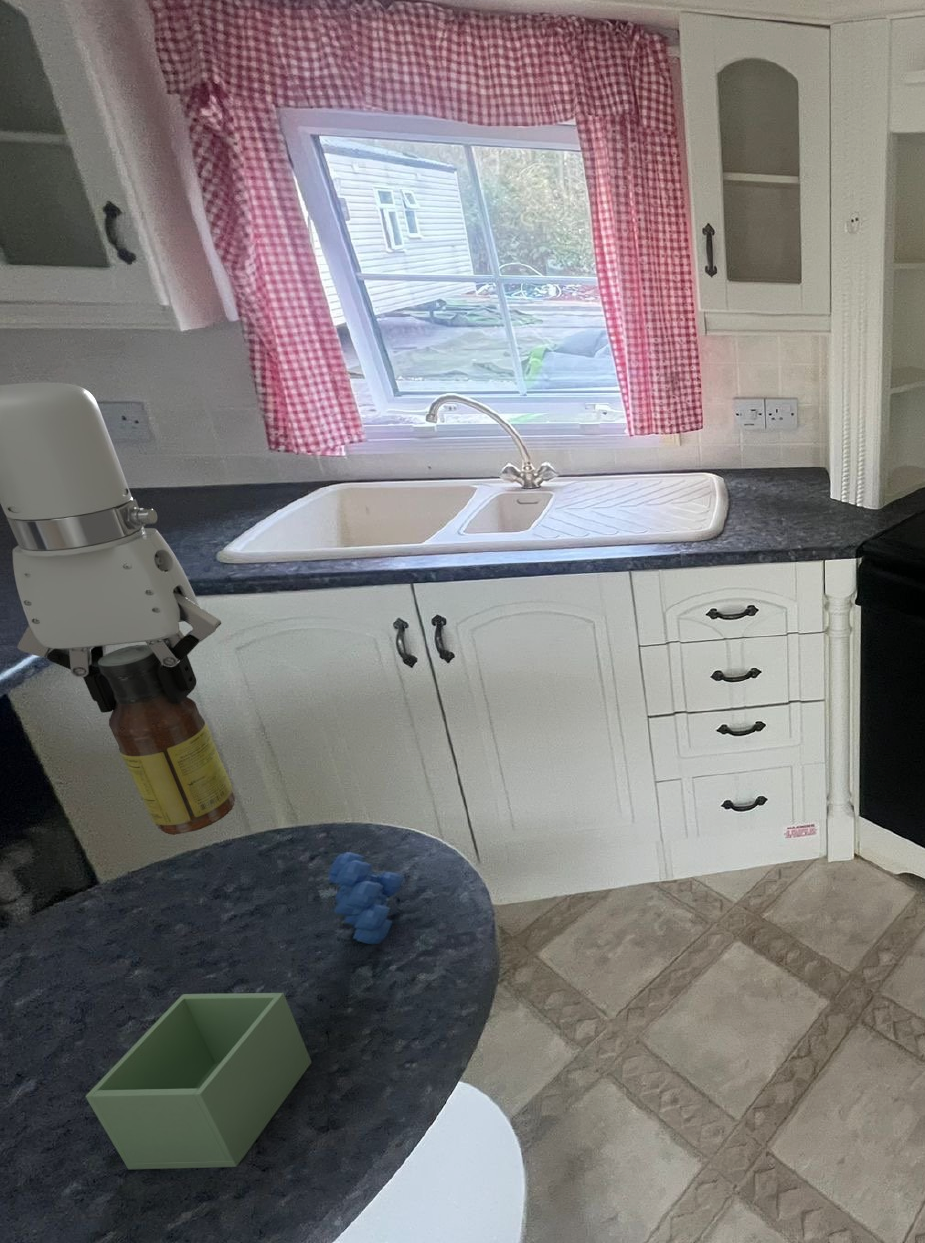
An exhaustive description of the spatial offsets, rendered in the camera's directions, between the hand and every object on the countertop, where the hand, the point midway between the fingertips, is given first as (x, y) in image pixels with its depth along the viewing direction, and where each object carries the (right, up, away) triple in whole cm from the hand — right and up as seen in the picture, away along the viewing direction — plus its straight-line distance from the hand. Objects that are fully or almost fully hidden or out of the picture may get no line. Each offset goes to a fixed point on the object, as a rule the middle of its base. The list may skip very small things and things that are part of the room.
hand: (149, 698), depth 73 cm
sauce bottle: (-1, -14, +5) cm, 15 cm away
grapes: (+12, -31, +15) cm, 36 cm away
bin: (+11, -38, -4) cm, 39 cm away
